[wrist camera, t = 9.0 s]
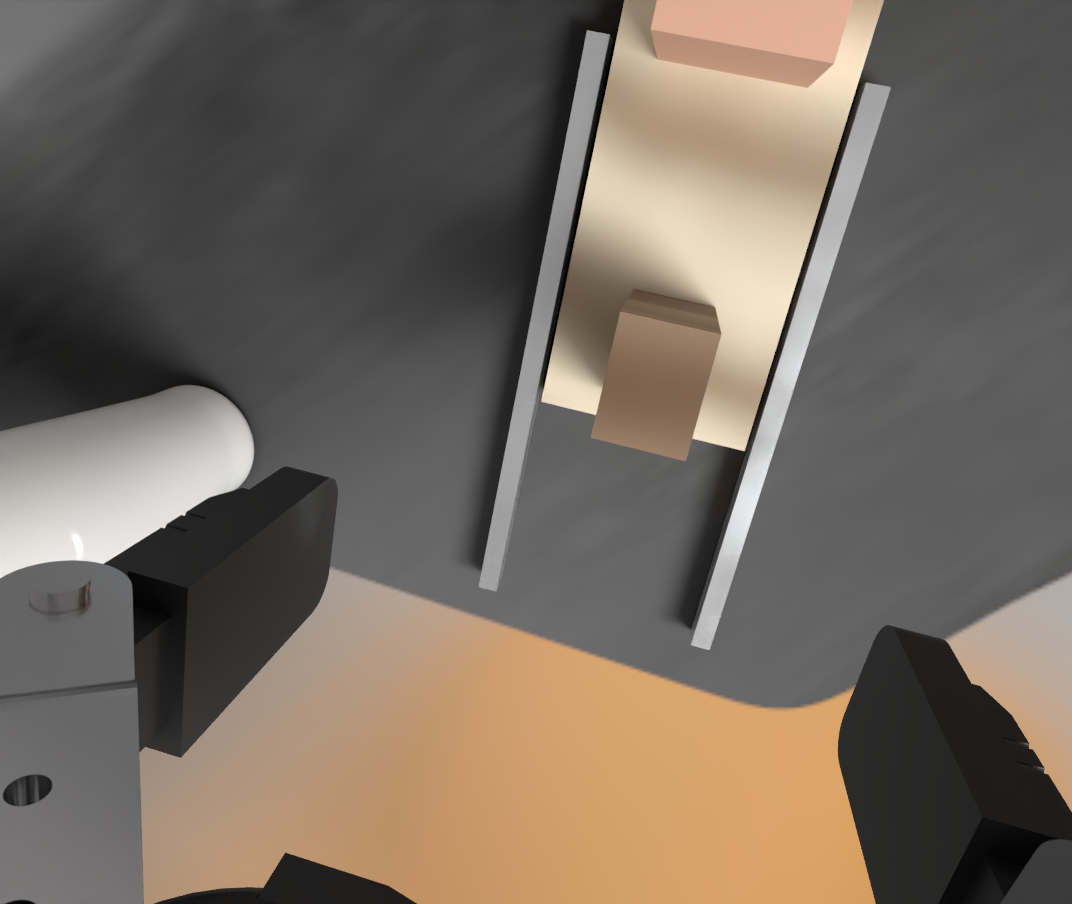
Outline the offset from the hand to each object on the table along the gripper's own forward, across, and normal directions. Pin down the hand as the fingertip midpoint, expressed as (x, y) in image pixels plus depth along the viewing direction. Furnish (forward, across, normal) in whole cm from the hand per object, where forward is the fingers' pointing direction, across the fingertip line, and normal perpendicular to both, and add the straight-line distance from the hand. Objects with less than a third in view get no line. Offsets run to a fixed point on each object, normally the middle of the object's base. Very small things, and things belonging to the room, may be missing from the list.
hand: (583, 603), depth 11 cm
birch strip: (+21, 0, -8) cm, 22 cm away
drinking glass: (+21, +19, +9) cm, 29 cm away
